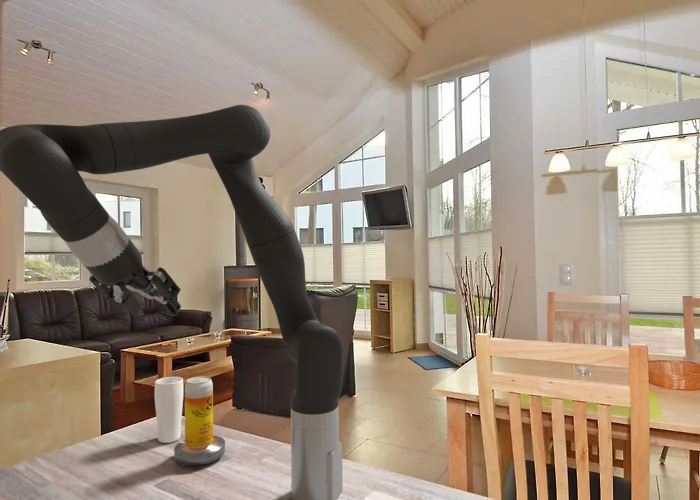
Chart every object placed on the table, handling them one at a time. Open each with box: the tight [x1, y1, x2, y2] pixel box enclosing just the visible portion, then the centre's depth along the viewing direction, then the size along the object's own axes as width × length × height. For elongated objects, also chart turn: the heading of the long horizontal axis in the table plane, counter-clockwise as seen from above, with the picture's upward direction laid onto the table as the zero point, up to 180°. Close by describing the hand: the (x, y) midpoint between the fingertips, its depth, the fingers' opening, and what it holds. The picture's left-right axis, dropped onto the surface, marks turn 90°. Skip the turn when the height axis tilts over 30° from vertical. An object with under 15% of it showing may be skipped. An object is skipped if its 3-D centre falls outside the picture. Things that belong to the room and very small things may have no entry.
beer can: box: [184, 375, 214, 450], centre depth 99 cm, size 6×6×15 cm
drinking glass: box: [154, 376, 184, 444], centre depth 109 cm, size 7×7×15 cm
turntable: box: [173, 434, 226, 467], centre depth 99 cm, size 11×11×2 cm
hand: (156, 311), depth 78 cm, fingers open, 8 cm apart
